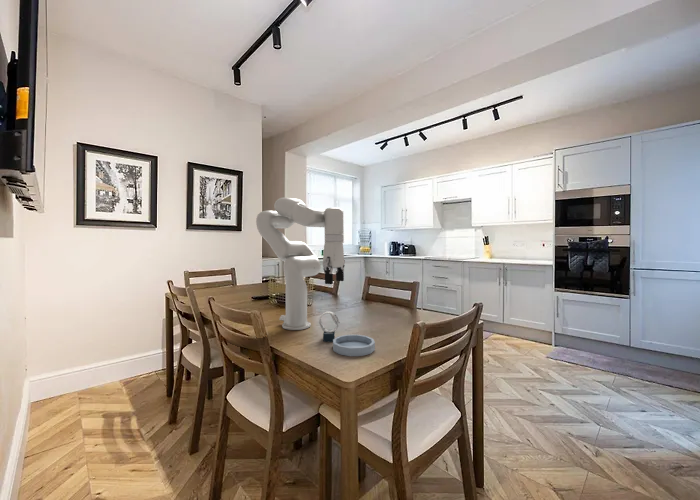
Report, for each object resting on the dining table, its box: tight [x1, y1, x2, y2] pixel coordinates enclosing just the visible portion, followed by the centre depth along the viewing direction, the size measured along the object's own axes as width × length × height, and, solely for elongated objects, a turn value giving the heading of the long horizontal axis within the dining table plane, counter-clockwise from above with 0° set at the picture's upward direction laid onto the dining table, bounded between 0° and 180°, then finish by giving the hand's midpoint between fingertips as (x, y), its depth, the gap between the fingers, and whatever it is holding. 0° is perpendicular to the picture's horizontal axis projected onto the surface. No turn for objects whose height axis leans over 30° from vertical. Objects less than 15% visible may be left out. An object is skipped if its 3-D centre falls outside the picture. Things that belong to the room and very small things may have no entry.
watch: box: [318, 310, 340, 343], centre depth 129 cm, size 6×8×11 cm
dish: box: [332, 334, 376, 357], centre depth 119 cm, size 15×15×3 cm
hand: (334, 282), depth 129 cm, fingers open, 9 cm apart
